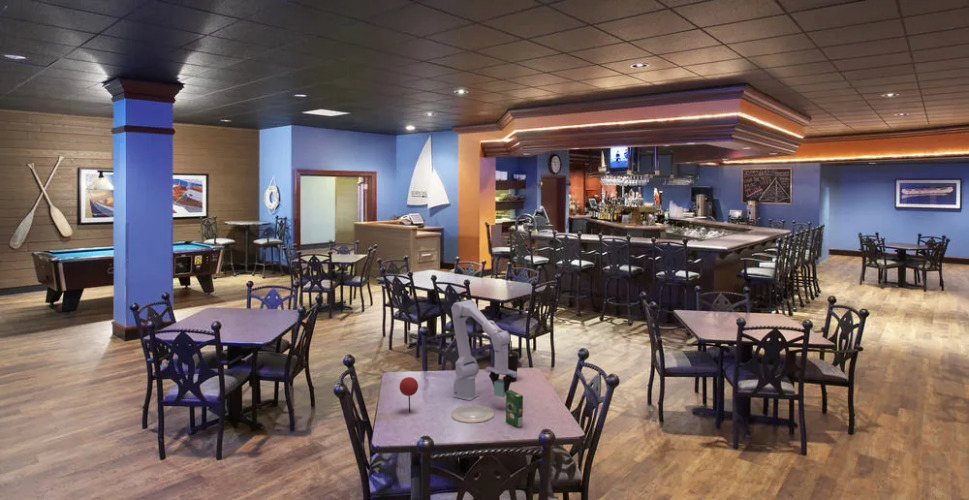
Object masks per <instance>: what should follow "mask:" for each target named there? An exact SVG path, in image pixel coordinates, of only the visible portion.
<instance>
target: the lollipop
mask: <svg viewBox="0 0 969 500" xmlns="http://www.w3.org/2000/svg"><path fill="white" fill-rule="evenodd" d="M418 389H419V383H418V380H416V378H415V377H413V376H412V377H411V376H408V377H404V378H402V380H401V381H400V382H399V390H400V392H401V394H402V395H404V396H408V413H411V396H414V395H415V394H416V393H417V392H418Z"/></svg>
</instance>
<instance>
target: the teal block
mask: <svg viewBox="0 0 969 500" xmlns="http://www.w3.org/2000/svg"><path fill="white" fill-rule="evenodd" d="M493 390H494V391H493V393H494V396H495V397H501V398H504V397H506V392H505V390H504V380H503V378H499V379H498V380H496V381H494V386H493Z"/></svg>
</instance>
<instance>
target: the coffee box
mask: <svg viewBox="0 0 969 500" xmlns="http://www.w3.org/2000/svg"><path fill="white" fill-rule="evenodd" d="M523 408H524V395H522V394H520V393H519V392H517V391H514V390H512V389H509V390H508V391H506V396H505V422H506V423H507V424H510V425H512V426H513V427H515V428H517V429H519V428H522V427H523V421H524V420H523V416H524V415H523V413H524V411H523V410H524V409H523Z"/></svg>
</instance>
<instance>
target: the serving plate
mask: <svg viewBox="0 0 969 500" xmlns="http://www.w3.org/2000/svg"><path fill="white" fill-rule="evenodd" d="M450 417H451V418H452V419H453V421H457V422H460V423H462V424H463V423H464V424H479V423H478V422H481V423H485V422H488V421H490V420H492V419H493V418H494V417H495V412H494V410H493V409H492V408H490V407H488V406H484V405H477V404H475V405H474V404H469V405H462V406H458V407H456V408H454V409H453V410H452V411H451V413H450ZM484 421H485V422H484Z"/></svg>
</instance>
